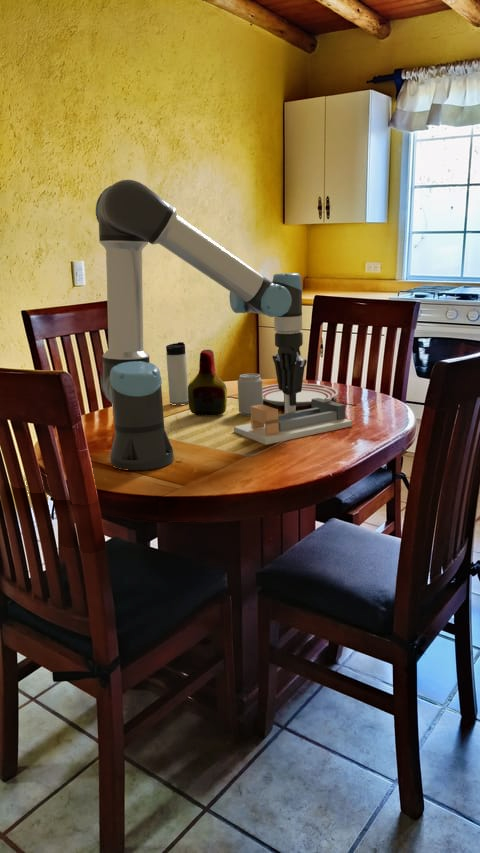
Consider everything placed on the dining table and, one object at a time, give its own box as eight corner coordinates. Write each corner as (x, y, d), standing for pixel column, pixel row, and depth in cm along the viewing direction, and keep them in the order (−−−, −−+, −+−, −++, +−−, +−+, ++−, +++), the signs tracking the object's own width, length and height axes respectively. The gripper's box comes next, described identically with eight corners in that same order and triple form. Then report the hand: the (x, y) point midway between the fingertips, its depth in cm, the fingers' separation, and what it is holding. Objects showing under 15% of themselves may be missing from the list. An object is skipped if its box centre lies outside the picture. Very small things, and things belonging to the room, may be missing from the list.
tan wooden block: (267, 434, 173) (266, 411, 171) (251, 428, 179) (250, 406, 178) (278, 432, 174) (277, 409, 173) (262, 426, 181) (261, 404, 179)
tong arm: (269, 426, 180) (269, 418, 180) (266, 425, 182) (266, 417, 181) (319, 416, 189) (319, 408, 188) (316, 415, 190) (316, 407, 190)
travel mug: (193, 402, 222) (189, 342, 217) (181, 406, 216) (177, 345, 211) (178, 401, 225) (174, 341, 220) (166, 405, 220) (161, 344, 215)
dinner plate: (350, 395, 223) (350, 385, 222) (316, 413, 201) (316, 403, 200) (278, 389, 237) (277, 380, 236) (238, 406, 215) (237, 396, 214)
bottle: (230, 412, 206) (226, 348, 201) (224, 417, 200) (221, 351, 195) (192, 412, 208) (189, 348, 203) (186, 417, 202) (182, 351, 197)
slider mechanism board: (265, 444, 170) (265, 420, 169) (234, 431, 184) (232, 408, 182) (352, 426, 184) (352, 403, 183) (316, 415, 198) (316, 393, 196)
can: (261, 416, 199) (259, 377, 196) (236, 416, 201) (234, 377, 198) (265, 410, 206) (264, 372, 203) (241, 410, 208) (239, 372, 205)
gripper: (314, 332, 177) (315, 418, 183) (285, 328, 188) (287, 410, 194) (291, 335, 173) (293, 423, 179) (263, 331, 184) (266, 414, 190)
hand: (290, 416), depth 186 cm, fingers closed
